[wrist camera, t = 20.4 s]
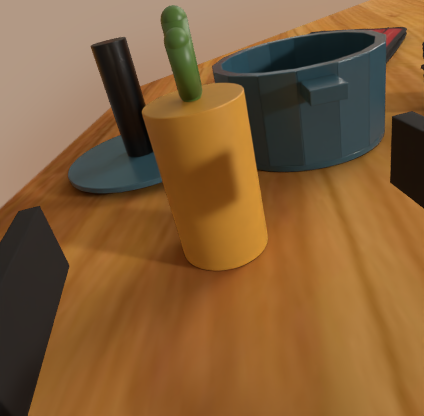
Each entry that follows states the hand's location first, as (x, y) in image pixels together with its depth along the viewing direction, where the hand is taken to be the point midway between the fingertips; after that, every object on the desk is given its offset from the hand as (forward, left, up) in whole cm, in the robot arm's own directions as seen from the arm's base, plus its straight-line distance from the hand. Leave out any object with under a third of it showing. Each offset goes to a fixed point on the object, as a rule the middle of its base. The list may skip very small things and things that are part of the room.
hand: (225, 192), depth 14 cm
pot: (+7, +21, -7) cm, 23 cm away
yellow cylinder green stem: (-1, +7, -7) cm, 10 cm away
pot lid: (-8, +23, -6) cm, 25 cm away
